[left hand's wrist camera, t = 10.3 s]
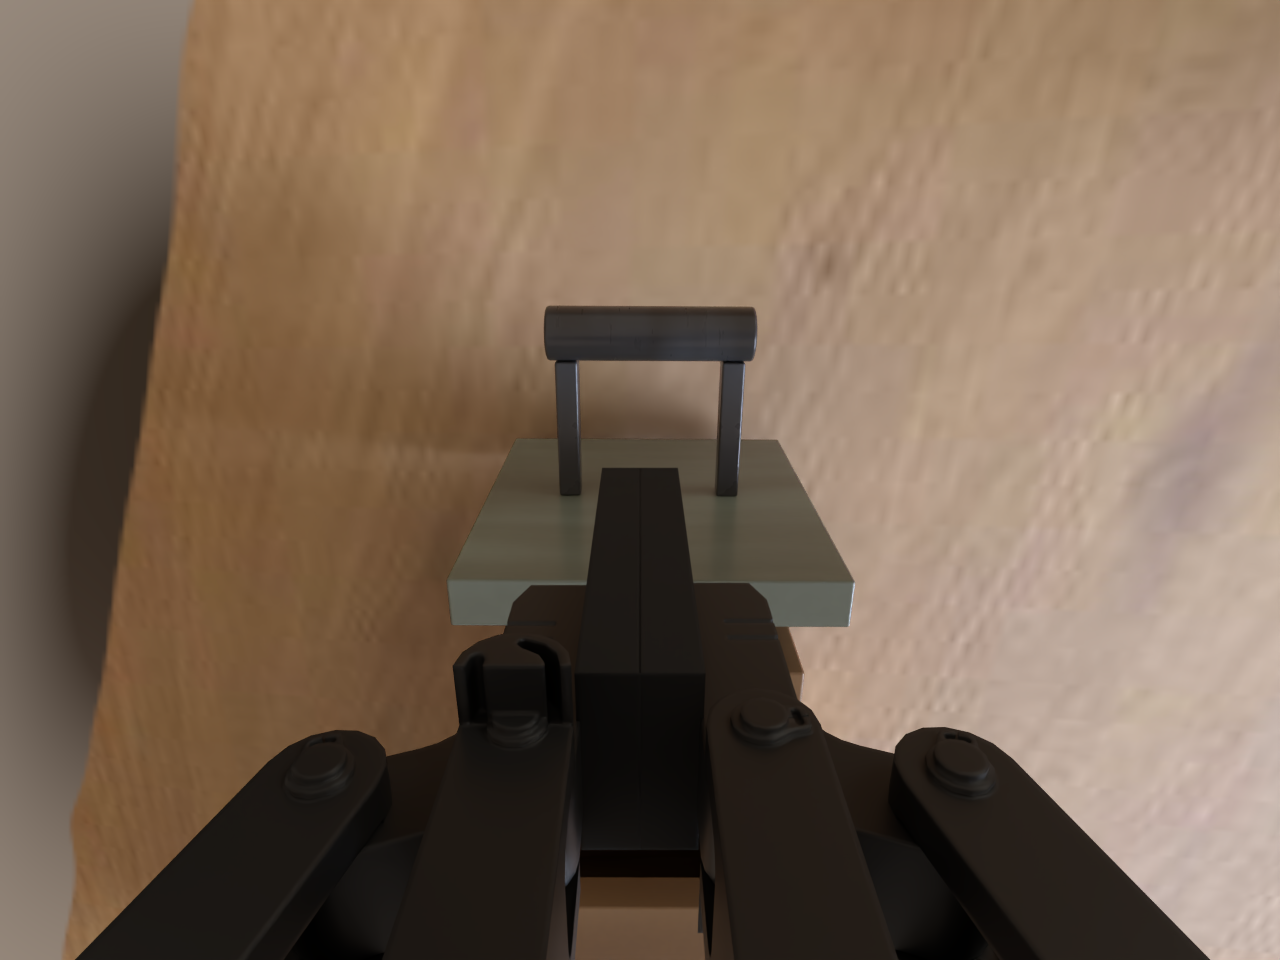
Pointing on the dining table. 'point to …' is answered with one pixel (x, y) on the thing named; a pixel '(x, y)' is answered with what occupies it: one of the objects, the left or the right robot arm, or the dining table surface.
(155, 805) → the dining table surface
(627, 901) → the cabinet
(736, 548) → the drawer
